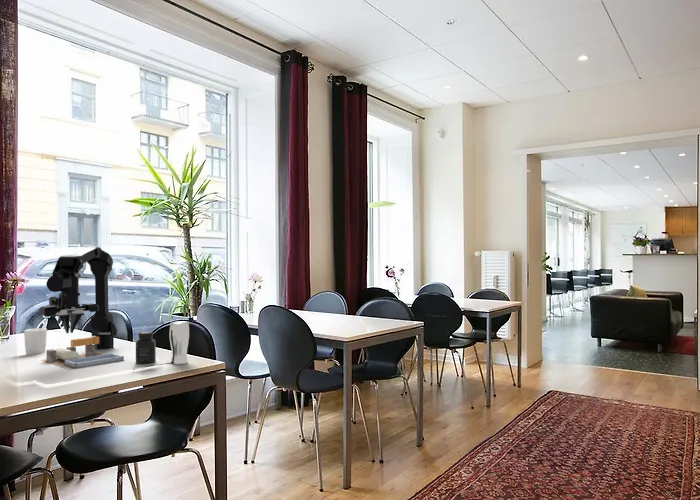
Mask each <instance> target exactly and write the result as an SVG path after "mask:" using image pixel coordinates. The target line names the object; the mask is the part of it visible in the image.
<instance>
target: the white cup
mask: <svg viewBox="0 0 700 500" xmlns="http://www.w3.org/2000/svg"><path fill="white" fill-rule="evenodd" d="M23 333H24V335H23V336H24V337H23V339H24V348H25V356H27V355H28V356H29V355H36V354H37V355H38V354H43V353H46V351H47V349H46V346H47V336H48V329H47V328H46V327H42V328H41V327H38V328H37V327H36V328H28V329H24V332H23Z"/></svg>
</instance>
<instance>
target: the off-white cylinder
mask: <svg viewBox="0 0 700 500" xmlns="http://www.w3.org/2000/svg"><path fill="white" fill-rule="evenodd" d="M55 350H56V358H58V359H61V360H70V359H77V358H79V355H80V354H79V353H78V352H77V351H76V352H74V351H71V350H67V349H66V348H63V347H57V348H56V349H55Z"/></svg>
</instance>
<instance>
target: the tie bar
mask: <svg viewBox="0 0 700 500" xmlns="http://www.w3.org/2000/svg"><path fill="white" fill-rule="evenodd" d="M91 344H92V345H94V344H99V337H96V336H91V337H89V336H88V337H81V338H74V339H70V347H76V348H77V347H82V346H83V347H84V346H85V345H91Z"/></svg>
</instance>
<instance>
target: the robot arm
mask: <svg viewBox="0 0 700 500" xmlns="http://www.w3.org/2000/svg"><path fill="white" fill-rule="evenodd" d="M85 263H87V264H88V265H89V267H90V268H89V269H90V272H91V273H92V275H93V276H94V285H95V286H94V287H95V288H94V289H95V290H94V292H95V294H94V296H95V300H94V301H95V303H94V302H93V303H92V302H91V303H82V304H80V303H79V300H80V297H81V293H80V291H79V290H80V289H79V286H80V284H79V281H80V279H79V278H81V276H82V275H81V274H80V273H79V272H80V270H82V269H83V268H84V264H85ZM113 265H114V259H113V257H112V256H111V255H110V254H109V253H108V252H107V251H105V250H103V249H102V248H101V247H100V246H89V245H88V246H86V247H85V248H84V249H82V250H80V251H77V252H76V253H74V254H66V255H65V254H64V255H61V256H59V257H58V259H57V261H56V263H55V266H54V268H53V270H52V273H51V274H52V275H51V276H49V277H48V278H47V281H46V287H47V289H48V290H49V291H50V292H53V293H57V292H59V294H58V297H57V296H50V297H48V305H47V306H44V305H43V306H40V307H39V309H38V315H39V316H40V315H41V316H55V317H58V319H60V321H61V323H62V325H63V328H64V330H65V333H66V334H69V332H70V334H73V333H74V332H75V328H76V327H77V324H78V322H79V320H80V319H81V318H82V316H84V315H85V312H87V311H89V312H90V313H94V314H93V316H91V317H90V325H89V326H90V327H89V328H90V331H91V332H90V333H91V337H94V336H96V337H99V344H93V345H95V351H96V350H108V349H113V350H116V348H114V341H115V340H114V339H115V338H114V336H117V335H118V328H117V327H116V324H115V322H114V317H113V314H111V312H110V311H109V275H110V274H111V272H112V270H113ZM83 312H84V313H83ZM68 313H69V314H68Z"/></svg>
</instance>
